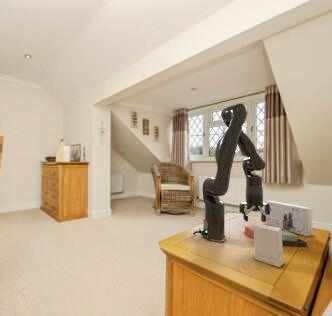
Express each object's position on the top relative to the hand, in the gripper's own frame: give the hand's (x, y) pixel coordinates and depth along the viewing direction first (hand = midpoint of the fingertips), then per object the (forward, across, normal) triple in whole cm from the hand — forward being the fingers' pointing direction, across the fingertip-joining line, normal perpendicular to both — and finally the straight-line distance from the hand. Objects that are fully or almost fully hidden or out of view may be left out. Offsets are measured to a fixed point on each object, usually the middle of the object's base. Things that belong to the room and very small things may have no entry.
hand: (254, 221), depth 110 cm
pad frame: (+8, -11, +2) cm, 14 cm away
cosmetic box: (+8, +12, +30) cm, 33 cm away
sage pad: (+8, -11, +6) cm, 14 cm away
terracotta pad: (+8, 0, 0) cm, 8 cm away
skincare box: (+9, -26, -14) cm, 30 cm away
